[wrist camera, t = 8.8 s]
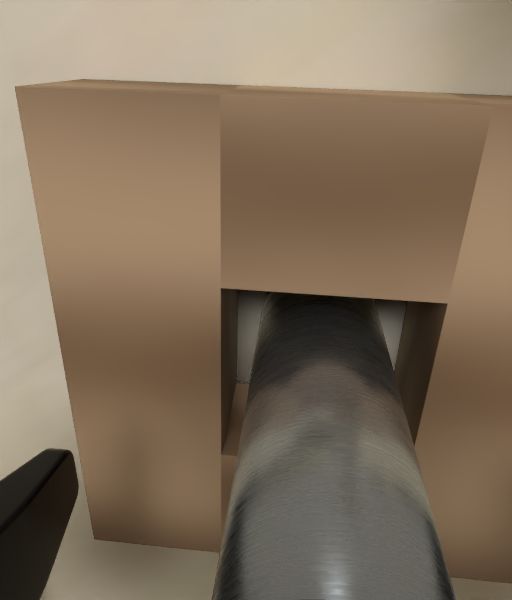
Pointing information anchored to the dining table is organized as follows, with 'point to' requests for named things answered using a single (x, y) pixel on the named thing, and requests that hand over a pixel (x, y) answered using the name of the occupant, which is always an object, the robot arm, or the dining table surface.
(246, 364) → the dining table surface
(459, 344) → the hole block
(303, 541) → the tall pin
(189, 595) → the dining table surface
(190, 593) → the dining table surface
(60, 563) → the dining table surface
